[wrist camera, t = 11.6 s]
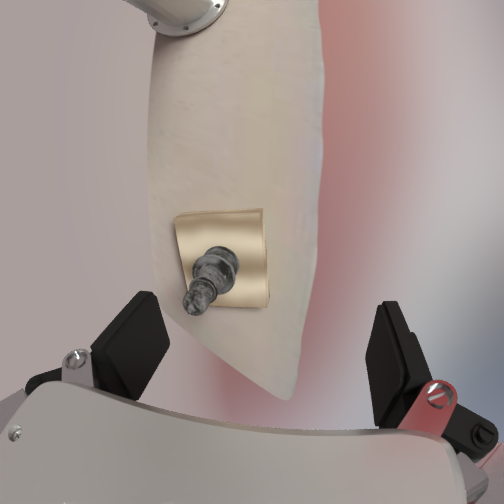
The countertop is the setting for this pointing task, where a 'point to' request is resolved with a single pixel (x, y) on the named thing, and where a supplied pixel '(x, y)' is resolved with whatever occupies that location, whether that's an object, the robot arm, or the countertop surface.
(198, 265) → the weathered stone finial
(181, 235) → the birch base block
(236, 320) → the countertop surface
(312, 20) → the countertop surface
